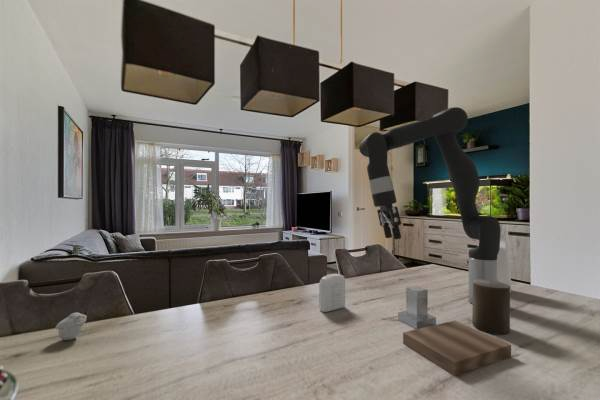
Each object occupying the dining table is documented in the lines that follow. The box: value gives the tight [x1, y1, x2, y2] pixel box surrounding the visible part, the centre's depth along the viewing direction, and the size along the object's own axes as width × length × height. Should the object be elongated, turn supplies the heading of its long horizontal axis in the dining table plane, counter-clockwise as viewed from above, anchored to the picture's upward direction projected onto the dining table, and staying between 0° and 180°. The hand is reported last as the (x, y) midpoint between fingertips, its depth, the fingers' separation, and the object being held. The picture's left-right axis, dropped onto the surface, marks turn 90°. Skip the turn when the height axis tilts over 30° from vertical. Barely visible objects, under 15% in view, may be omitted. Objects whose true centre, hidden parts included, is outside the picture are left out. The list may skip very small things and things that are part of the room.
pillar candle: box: [471, 279, 511, 336], centre depth 90 cm, size 10×10×15 cm
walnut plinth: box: [402, 320, 512, 376], centre depth 77 cm, size 20×16×3 cm
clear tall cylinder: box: [477, 230, 512, 293], centre depth 127 cm, size 12×12×26 cm
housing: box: [397, 285, 437, 330], centre depth 94 cm, size 8×8×11 cm
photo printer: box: [318, 273, 346, 313], centre depth 105 cm, size 10×4×12 cm, turn 123°
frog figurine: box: [55, 312, 88, 341], centre depth 82 cm, size 6×7×7 cm
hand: (393, 238), depth 99 cm, fingers open, 8 cm apart
